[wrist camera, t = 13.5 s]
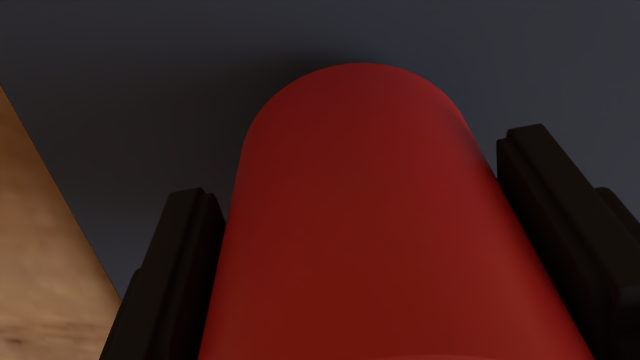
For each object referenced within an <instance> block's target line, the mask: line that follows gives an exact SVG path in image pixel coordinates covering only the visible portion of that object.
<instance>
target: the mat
mask: <svg viewBox="0 0 640 360" xmlns="http://www.w3.org/2000/svg"><path fill="white" fill-rule="evenodd" d="M348 63H375V64H384V65H389V66H393V67H397V68H401V69H404V70H407V71H409V72H412V73H414V74H417V75H419V76H420V77H422V78H424V79H426V80H428V81H429V82H431V83H432V84H434V85H435V86H436V87H438V88H439V89H440V90H441V91H443V92H444V93H445V94H446V95H447V96H448V97H449V98H450V99H451V101H452V102H453V103H454V104H455V105H456V107H457V108H458V110H459V111H460V113H461V114H462V116H463V118H464V119H465V121H466V123H467V125H468V127H469V129H470V131H471V132H472V134H473V136H474V138H475V140H476V142H477V143H478V145H479V147H480V149H481V151H482V153H483V154H484V156H485V158H486V160H487V162H488V164H489V165H490V167H491V169H492V171H493V173H494V175H495V177H496V178H497V158H496V142H497V140H498V139H502V138H506V133H507V130H508V129H512V128H517V127H523V126H528V125H533V124H539V123H541V124H543V125H544V126H545V127H546V129H547V130H548V131H549V132H550V134H551V135H552V136H553V137H554V139H555V140H556V141H557V142H558V144H559V145H560V146H561V147H562V149H563V150H564V151H565V152H566V154H567V155H568V156H569V157H570V159H571V160H572V161H573V162H574V164H575V165H576V166H577V167H578V169H579V170H580V171H581V172H582V174H583V175H584V176H585V177H586V179H587V180H588V181H589V182H590V184H591V185H592V186H593V187H594V188H598V187H607V188H609V189H610V190H611V191H613V192H614V193H615V194H616V196H617V197H618V198H619V199H620V200H621V202H622V203H623V204H624V205H625V206H626V207H627V209H628V210H629V211H630V212H631V213H632V215H633V216H634V217H635V218H636V219H637V220H638V222H639V223H640V0H0V85H1V87H2V89H3V90H4V92H5V94H6V96H7V97H8V99H9V101H10V103H11V105H12V106H13V108H14V110H15V112H16V113H17V115H18V117H19V119H20V121H21V122H22V124H23V126H24V128H25V130H26V131H27V133H28V135H29V137H30V138H31V140H32V142H33V144H34V146H35V147H36V149H37V151H38V153H39V154H40V156H41V158H42V160H43V162H44V163H45V165H46V167H47V169H48V171H49V172H50V174H51V176H52V178H53V179H54V181H55V183H56V185H57V187H58V188H59V190H60V192H61V194H62V196H63V197H64V199H65V201H66V203H67V204H68V206H69V208H70V210H71V212H72V213H73V215H74V217H75V219H76V220H77V222H78V224H79V226H80V228H81V229H82V231H83V233H84V235H85V237H86V238H87V240H88V242H89V244H90V245H91V247H92V249H93V251H94V253H95V254H96V256H97V258H98V260H99V261H100V263H101V265H102V267H103V269H104V270H105V272H106V274H107V276H108V278H109V279H110V281H111V283H112V285H113V286H114V288H115V290H116V292H117V294H118V295H119V297H120V299H121V301H122V300H123V298H124V295H125V293H126V290H127V288H128V285H129V283H130V280H131V278H132V276H133V274H134V272H135V271H136V270H137V269H139V268H141V266H142V263H143V260H144V258H145V255H146V253H147V250H148V247H149V245H150V242H151V240H152V237H153V235H154V232H155V229H156V227H157V224H158V222H159V219H160V216H161V214H162V211H163V209H164V206H165V203H166V201H167V198H168V196H169V194H170V193H172V192H176V191H182V190H187V189H192V188H198V187H201V188H202V189H203V190H204V191H205V193H206V194H207V193H214V195H215V196H216V198H217V200H218V203H219V206H220V208H221V211H222V214H223V216H224V219H225V222H227V218H228V213H229V208H230V203H231V199H232V194H233V189H234V184H235V180H236V175H237V170H238V165H239V161H240V156H241V151H242V146H243V142H244V140H245V137H246V134H247V132H248V129H249V127H250V126H251V124H252V122H253V120H254V118H255V117H256V115H257V114H258V113H259V111H260V110H261V109H262V107H263V106H264V105H265V104H266V103H267V102H268V101H269V100H270V99H271V98H272V97H273V96H274V95H275V94H276V93H278V92H279V91H280V90H282V89H283V88H284V87H285V86H287V85H288V84H290V83H292V82H293V81H295V80H297V79H299V78H300V77H302V76H304V75H307V74H309V73H312V72H314V71H317V70H320V69H323V68H327V67H331V66H334V65H341V64H348Z"/></svg>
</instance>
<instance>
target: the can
mask: <svg viewBox="0 0 640 360" xmlns="http://www.w3.org/2000/svg"><path fill="white" fill-rule="evenodd" d="M198 360H595V359H594V357H593V355H592V353H591V351H590V349H589V348H588V346H587V344H586V342H585V340H584V338H583V337H582V335H581V333H580V331H579V329H578V327H577V326H576V324H575V322H574V320H573V318H572V316H571V314H570V313H569V311H568V309H567V307H566V305H565V303H564V302H563V300H562V298H561V296H560V294H559V292H558V291H557V289H556V287H555V285H554V283H553V281H552V280H551V278H550V276H549V274H548V272H547V270H546V268H545V267H544V265H543V263H542V261H541V259H540V257H539V256H538V254H537V252H536V250H535V248H534V246H533V245H532V243H531V241H530V239H529V237H528V235H527V234H526V232H525V230H524V228H523V226H522V224H521V222H520V221H519V219H518V217H517V215H516V213H515V211H514V210H513V208H512V206H511V204H510V202H509V200H508V199H507V197H506V195H505V193H504V191H503V189H502V188H501V186H500V184H499V182H498V180H497V178H496V177H495V175H494V173H493V171H492V169H491V167H490V165H489V164H488V162H487V160H486V158H485V156H484V154H483V153H482V151H481V149H480V147H479V145H478V143H477V142H476V140H475V138H474V136H473V134H472V132H471V131H470V129H469V127H468V125H467V123H466V121H465V119H464V118H463V116H462V114H461V113H460V111H459V110H458V108H457V107H456V105H455V104H454V103H453V102H452V101H451V99H450V98H449V97H448V96H447V95H446V94H445V93H444V92H443V91H441V90H440V89H439V88H438V87H436V86H435V85H434V84H432V83H431V82H429V81H428V80H426V79H424V78H422V77H420V76H419V75H417V74H414V73H412V72H409V71H407V70H404V69H401V68H397V67H393V66H389V65H384V64H375V63H348V64H341V65H334V66H331V67H327V68H323V69H320V70H317V71H314V72H312V73H309V74H307V75H304V76H302V77H300V78H299V79H297V80H295V81H293V82H292V83H290V84H288V85H287V86H285V87H284V88H283V89H282V90H280V91H279V92H278V93H276V94H275V95H274V96H273V97H272V98H271V99H270V100H269V101H268V102H267V103H266V104H265V105H264V106H263V107H262V109H261V110H260V111H259V113H258V114H257V115H256V117H255V118H254V120H253V122H252V124H251V126H250V127H249V129H248V132H247V134H246V137H245V140H244V142H243V146H242V151H241V156H240V161H239V165H238V170H237V175H236V180H235V184H234V189H233V194H232V199H231V203H230V208H229V213H228V218H227V222H226V227H225V232H224V237H223V241H222V246H221V251H220V256H219V260H218V265H217V270H216V274H215V279H214V284H213V289H212V293H211V298H210V303H209V308H208V312H207V317H206V322H205V327H204V331H203V336H202V341H201V346H200V350H199V355H198Z"/></svg>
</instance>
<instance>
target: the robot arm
mask: <svg viewBox="0 0 640 360" xmlns="http://www.w3.org/2000/svg"><path fill="white" fill-rule="evenodd" d="M496 158H497V180H498V182H499V184H500V186H501V188H502V189H503V191H504V193H505V195H506V197H507V199H508V200H509V202H510V204H511V206H512V208H513V210H514V211H515V213H516V215H517V217H518V219H519V221H520V222H521V224H522V226H523V228H524V230H525V232H526V234H527V235H528V237H529V239H530V241H531V243H532V245H533V246H534V248H535V250H536V252H537V254H538V256H539V257H540V259H541V261H542V263H543V265H544V267H545V268H546V270H547V272H548V274H549V276H550V278H551V280H552V281H553V283H554V285H555V287H556V289H557V291H558V292H559V294H560V296H561V298H562V300H563V302H564V303H565V305H566V307H567V309H568V311H569V313H570V314H571V316H572V318H573V320H574V322H575V324H576V326H577V327H578V329H579V331H580V333H581V335H582V337H583V338H584V340H585V342H586V344H587V346H588V348H589V349H590V351H591V353H592V355H593V357H594V359H595V360H640V223H639V222H638V220H637V219H636V218H635V217H634V216H633V215H632V213H631V212H630V211H629V210H628V209H627V207H626V206H625V205H624V204H623V203H622V202H621V200H620V199H619V198H618V197H617V196H616V194H615V193H614V192H613V191H611V190H610V189H609V188H607V187H598V188H594V187H593V186H592V185H591V184H590V182H589V181H588V180H587V179H586V177H585V176H584V175H583V174H582V172H581V171H580V170H579V169H578V167H577V166H576V165H575V164H574V162H573V161H572V160H571V159H570V157H569V156H568V155H567V154H566V152H565V151H564V150H563V149H562V147H561V146H560V145H559V144H558V142H557V141H556V140H555V139H554V137H553V136H552V135H551V134H550V132H549V131H548V130H547V129H546V127H545V126H544V125H543V124H541V123H539V124H533V125H528V126H523V127H517V128H512V129H508V130H507V133H506V138H502V139H498V140H497V142H496ZM225 227H226V222H225V219H224V216H223V214H222V211H221V208H220V206H219V203H218V200H217V198H216V196H215V195H214V193H207V194H206V193H205V191H204V190H203V189H202V188H201V187H198V188H192V189H187V190H182V191H176V192H172V193H170V194H169V196H168V198H167V201H166V203H165V206H164V209H163V211H162V214H161V216H160V219H159V222H158V224H157V227H156V229H155V232H154V235H153V237H152V240H151V242H150V245H149V247H148V250H147V253H146V255H145V258H144V260H143V263H142V266H141V268H139V269H137V270H136V271H135V272H134V274H133V276H132V278H131V280H130V283H129V285H128V288H127V290H126V293H125V295H124V298H123V300H122V303H121V305H120V308H119V310H118V313H117V315H116V318H115V320H114V323H113V325H112V328H111V330H110V333H109V335H108V338H107V340H106V343H105V345H104V348H103V350H102V353H101V356H100V358H99V360H198V355H199V350H200V346H201V341H202V336H203V331H204V327H205V322H206V317H207V312H208V308H209V303H210V298H211V293H212V289H213V284H214V279H215V274H216V270H217V265H218V260H219V256H220V251H221V246H222V241H223V237H224V232H225Z"/></svg>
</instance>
